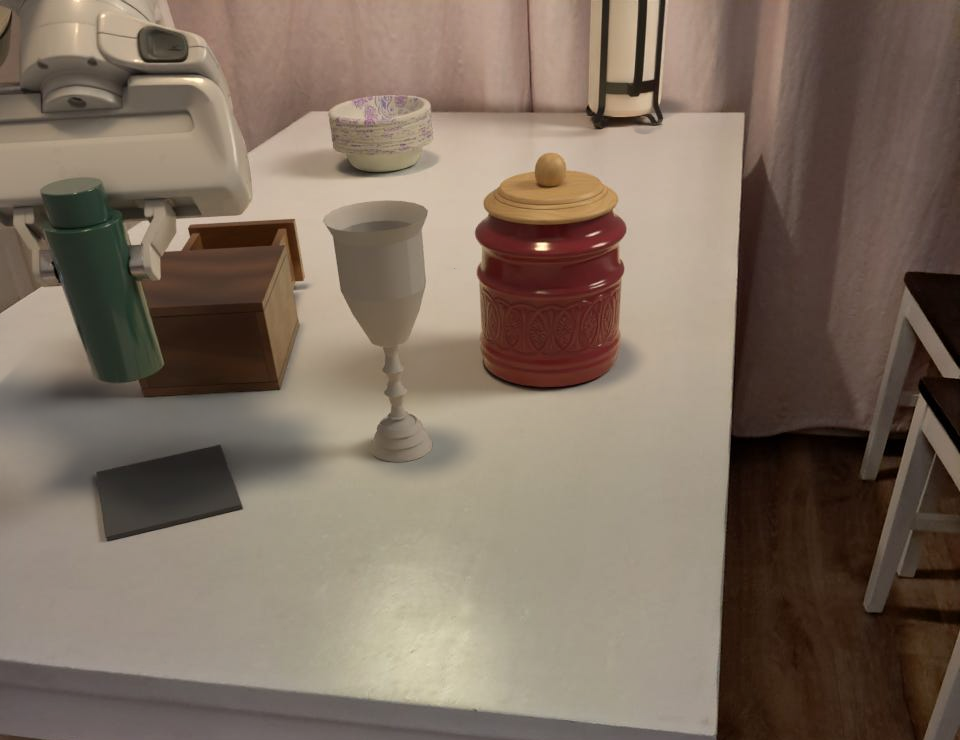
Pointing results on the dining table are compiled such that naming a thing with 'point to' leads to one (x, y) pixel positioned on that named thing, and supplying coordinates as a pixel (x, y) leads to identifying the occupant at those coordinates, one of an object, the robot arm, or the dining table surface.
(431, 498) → the dining table surface
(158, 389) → the brown wooden box
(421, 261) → the chalice
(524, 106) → the dining table surface
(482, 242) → the kitchen canister
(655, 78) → the lantern
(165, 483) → the mat
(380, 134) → the paper bowls
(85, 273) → the bottle
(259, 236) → the drawer
